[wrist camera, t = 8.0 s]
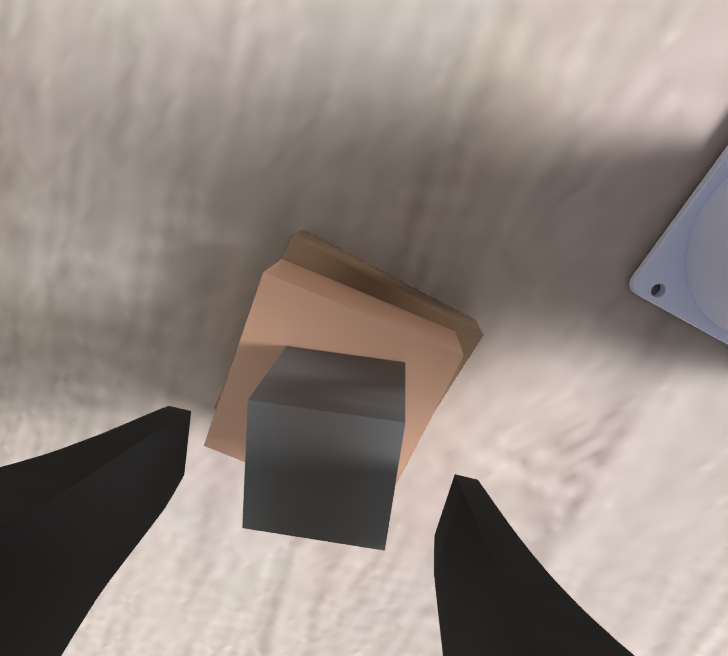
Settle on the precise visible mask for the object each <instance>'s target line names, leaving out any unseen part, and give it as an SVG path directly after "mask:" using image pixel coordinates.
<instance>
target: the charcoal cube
mask: <svg viewBox="0 0 728 656" xmlns="http://www.w3.org/2000/svg"><path fill="white" fill-rule="evenodd" d="M404 429H405V362H399V361H392V360H385V359H378V358H371V357H363V356H356V355H349V354H342V353H335V352H328V351H321V350H313V349H306V348H299V347H292V346H286V347H285V348H284V350H283V351H282V352H281V354H280V355H279V357H278V358H277V360H276V361H275V362H274V364H273V365H272V367H271V368H270V369H269V371H268V372H267V374H266V375H265V376H264V378H263V379H262V381H261V382H260V383H259V385H258V386H257V388H256V389H255V390H254V392H253V393H252V395H251V396H250V397H249V399H248V407H247V431H246V455H245V479H244V503H243V527H242V528H246V529H252V530H258V531H265V532H271V533H277V534H284V535H290V536H296V537H303V538H309V539H315V540H321V541H328V542H334V543H340V544H347V545H353V546H359V547H366V548H372V549H378V550H385V545H386V539H387V533H388V527H389V521H390V514H391V508H392V502H393V496H394V490H395V484H396V478H397V472H398V465H399V459H400V453H401V447H402V441H403V435H404Z"/></svg>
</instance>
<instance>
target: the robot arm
mask: <svg viewBox="0 0 728 656" xmlns="http://www.w3.org/2000/svg"><path fill="white" fill-rule="evenodd" d="M656 284H660V290H659V292H658V293H657V294H654V295H652V294H651V289H652V287H653V286H655V285H656ZM629 287H630V289H631V291H632V292H633V293H634V294H636V295H638V296H640V297H641V298H643V299H645V300H647V301H649V302H651V303H652V304H654V305H656V306H658V307H660V308H661V309H663V310H665V311H667V312H669V313H671V314H672V315H674V316H676V317H678V318H680V319H682V320H683V321H685V322H687V323H689V324H691V325H692V326H694V327H696V328H698V329H700V330H702V331H703V332H705V333H707V334H709V335H711V336H712V337H714V338H716V339H718V340H720V341H722V342H723V343H725V344H727V345H728V146H727V147H726V148H725V150H724V151H723V152H722V154H721V155H720V156H719V158H718V159H717V161H716V162H715V163H714V165H713V166H712V167H711V169H710V170H709V172H708V173H707V174H706V176H705V177H704V178H703V180H702V181H701V182H700V184H699V185H698V187H697V188H696V189H695V191H694V192H693V193H692V195H691V196H690V198H689V199H688V200H687V202H686V203H685V204H684V206H683V207H682V208H681V210H680V211H679V213H678V214H677V215H676V217H675V218H674V219H673V221H672V222H671V224H670V225H669V226H668V228H667V229H666V230H665V232H664V233H663V234H662V236H661V237H660V239H659V240H658V241H657V243H656V244H655V245H654V247H653V248H652V250H651V251H650V252H649V254H648V255H647V256H646V258H645V259H644V261H643V262H642V263H641V265H640V266H639V267H638V269H637V270H636V271H635V273H634V274H633V276H632V277H631V279H630V281H629ZM190 417H191V411H188V410H184V409H180V408H176V407H172V406H167V407H165V408H162V409H159V410H157V411H154V412H152V413H150V414H147V415H145V416H143V417H140V418H138V419H136V420H133V421H131V422H129V423H126V424H124V425H121V426H119V427H117V428H114V429H112V430H109V431H107V432H105V433H102V434H100V435H97V436H95V437H92V438H89V439H86V440H84V441H81V442H78V443H76V444H73V445H70V446H68V447H65V448H62V449H60V450H57V451H54V452H51V453H48V454H44V455H41V456H38V457H35V458H31V459H28V460H24V461H21V462H17V463H14V464H10V465H7V466H3V467H0V656H61V655H62V654H63V652H64V650H65V649H66V647H67V645H68V644H69V642H70V640H71V639H72V637H73V636H74V634H75V632H76V631H77V629H78V628H79V626H80V624H81V623H82V621H83V620H84V618H85V616H86V615H87V613H88V612H89V610H90V609H91V607H92V605H93V604H94V602H95V601H96V599H97V598H98V596H99V595H100V593H101V592H102V590H103V589H104V588H105V586H106V585H107V583H108V582H109V581H110V579H111V578H112V577H113V575H114V574H115V573H116V571H117V570H118V569H119V568H120V566H121V565H122V564H123V562H124V561H125V560H126V559H127V557H128V556H129V555H130V553H131V552H132V551H133V549H134V548H135V547H136V546H137V544H138V543H139V542H140V540H141V539H142V538H143V536H144V535H145V534H146V533H147V531H148V530H149V529H150V527H151V526H152V525H153V523H154V522H155V521H156V519H157V518H158V517H159V515H160V514H161V513H162V511H163V510H164V509H165V507H166V506H167V504H168V502H169V500H170V499H171V497H172V495H173V494H174V492H175V490H176V489H177V487H178V485H179V483H180V481H181V480H182V478H183V476H184V472H185V463H186V454H187V444H188V435H189V426H190ZM434 577H435V587H436V597H437V606H438V615H439V624H440V633H441V642H442V651H443V656H634V655H633V654H632V653H631V652H630V651H628V650H627V649H626V648H625V647H624V646H622V645H621V644H620V643H619V642H618V641H617V640H616V639H614V638H613V637H612V636H611V635H610V634H609V633H608V632H607V631H606V630H605V629H603V628H602V627H601V626H600V625H599V624H598V623H597V622H596V621H595V620H594V619H592V618H591V617H590V616H589V615H588V614H587V613H586V612H585V611H584V610H583V609H582V608H581V607H580V606H579V605H578V604H577V603H576V602H575V601H574V600H573V599H572V598H571V597H570V596H569V595H568V594H567V593H566V592H565V590H564V589H563V588H562V587H561V586H560V585H559V584H558V583H557V582H556V581H555V580H554V579H553V578H552V577H551V575H550V574H549V573H548V572H547V571H546V570H545V569H544V567H543V566H542V565H541V564H540V563H539V561H538V560H537V559H536V558H535V557H534V555H533V554H532V553H531V552H530V551H529V549H528V548H527V547H526V545H525V544H524V543H523V542H522V540H521V539H520V538H519V536H518V535H517V534H516V533H515V531H514V530H513V528H512V527H511V526H510V524H509V523H508V522H507V520H506V519H505V518H504V516H503V515H502V513H501V512H500V511H499V509H498V508H497V506H496V505H495V503H494V502H493V501H492V499H491V498H490V496H489V495H488V493H487V492H486V491H485V489H484V488H483V486H482V485H481V484H480V482H479V481H478V480H477V479H472V478H468V477H464V476H460V475H456V474H455V475H454V478H453V481H452V484H451V487H450V490H449V493H448V496H447V499H446V502H445V505H444V509H443V512H442V515H441V518H440V521H439V524H438V527H437V530H436V533H435V539H434Z"/></svg>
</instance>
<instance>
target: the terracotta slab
mask: <svg viewBox="0 0 728 656" xmlns="http://www.w3.org/2000/svg"><path fill="white" fill-rule="evenodd" d="M286 346H292V347H299V348H306V349H313V350H321V351H328V352H335V353H342V354H349V355H356V356H363V357H371V358H378V359H385V360H392V361H399V362H405V429H404V435H403V441H402V447H401V453H400V459H399V465H398V472H397V478H396V484H397V482H398V480H399V478H400V476H401V474H402V473H403V471H404V469H405V467H406V465H407V463H408V461H409V459H410V457H411V455H412V453H413V452H414V450H415V448H416V446H417V444H418V442H419V440H420V438H421V436H422V434H423V432H424V431H425V429H426V427H427V425H428V423H429V421H430V419H431V417H432V415H433V413H434V411H435V410H436V408H437V406H438V404H439V402H440V400H441V398H442V396H443V394H444V392H445V390H446V389H447V387H448V385H449V383H450V381H451V379H452V377H453V375H454V373H455V371H456V369H457V368H458V366H459V364H460V362H461V360H462V358H463V356H464V355H463V352H462V349H461V346H460V343H459V340H458V337H457V334H456V331H454V330H451V329H449V328H447V327H444V326H442V325H439V324H437V323H435V322H432V321H430V320H428V319H425V318H423V317H420V316H418V315H416V314H413V313H411V312H408V311H406V310H404V309H401V308H399V307H397V306H394V305H392V304H389V303H387V302H385V301H382V300H380V299H377V298H375V297H373V296H370V295H368V294H366V293H363V292H361V291H358V290H356V289H354V288H351V287H349V286H346V285H344V284H342V283H339V282H337V281H334V280H332V279H330V278H327V277H325V276H323V275H320V274H318V273H315V272H313V271H311V270H308V269H306V268H303V267H301V266H299V265H296V264H294V263H292V262H289V261H287V260H284V259H281V260H280V261H278V262H277V263H275V264H274V265H273V266H271V267H270V268H268V269H267V270H265V271H264V272H263V274H262V277H261V280H260V283H259V286H258V289H257V292H256V295H255V298H254V301H253V303H252V306H251V309H250V312H249V315H248V318H247V321H246V324H245V327H244V330H243V333H242V336H241V339H240V342H239V344H238V347H237V350H236V353H235V356H234V359H233V362H232V365H231V368H230V371H229V374H228V377H227V380H226V383H225V386H224V388H223V391H222V394H221V397H220V400H219V403H218V406H217V409H216V412H215V415H214V418H213V421H212V424H211V427H210V429H209V432H208V435H207V438H206V441H205V444H204V446H206V447H208V448H211V449H213V450H216V451H218V452H221V453H224V454H226V455H229V456H231V457H234V458H236V459H239V460H241V461H244V462H245V455H246V431H247V407H248V399H249V397H250V396H251V395H252V393H253V392H254V390H255V389H256V388H257V386H258V385H259V383H260V382H261V381H262V379H263V378H264V376H265V375H266V374H267V372H268V371H269V369H270V368H271V367H272V365H273V364H274V362H275V361H276V360H277V358H278V357H279V355H280V354H281V352H282V351H283V350H284V348H285V347H286ZM396 484H395V486H396Z"/></svg>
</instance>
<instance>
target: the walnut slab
mask: <svg viewBox="0 0 728 656" xmlns="http://www.w3.org/2000/svg"><path fill="white" fill-rule="evenodd" d="M282 259H284V260H287V261H289V262H292V263H294V264H296V265H299V266H301V267H303V268H306V269H308V270H311V271H313V272H315V273H318V274H320V275H323V276H325V277H327V278H330V279H332V280H334V281H337V282H339V283H342V284H344V285H346V286H349V287H351V288H354V289H356V290H358V291H361V292H363V293H366V294H368V295H370V296H373V297H375V298H377V299H380V300H382V301H385V302H387V303H389V304H392V305H394V306H397V307H399V308H401V309H404V310H406V311H408V312H411V313H413V314H416V315H418V316H420V317H423V318H425V319H428V320H430V321H432V322H435V323H437V324H439V325H442V326H444V327H447V328H449V329H451V330H454V331H456V334H457V337H458V340H459V343H460V346H461V349H462V352H463V355H464V356H463V358H462V360H461V362H460V364H459V366H458V368H457V369H456V371H455V373H454V375H453V377H452V379H451V381H450V383H449V385H448V387H447V389H446V390H445V392H444V394H443V396H442V398H441V400H440V402H441V401H442V399H443V397H444V396H445V394H446V393H447V391H448V390H449V388H450V386H451V385H452V383H453V382H454V380H455V379H456V377H457V376H458V374H459V372H460V371H461V369H462V368H463V366H464V365H465V363H466V361H467V360H468V358H469V357H470V355H471V354H472V352H473V350H474V349H475V347H476V346H477V344H478V343H479V341H480V340H481V338H482V336H483V334H482V332H481V330H480V328H479V326H478V324H477V322H476V320H474V319H472V318H470V317H468V316H466V315H464V314H462V313H461V312H459V311H457V310H455V309H453V308H451V307H449V306H447V305H445V304H443V303H441V302H439V301H438V300H436V299H434V298H432V297H430V296H428V295H426V294H424V293H422V292H420V291H418V290H417V289H415V288H413V287H411V286H409V285H407V284H405V283H403V282H401V281H399V280H397V279H396V278H394V277H392V276H390V275H388V274H386V273H384V272H382V271H380V270H378V269H376V268H375V267H373V266H371V265H369V264H367V263H365V262H363V261H361V260H359V259H357V258H355V257H353V256H352V255H350V254H348V253H346V252H344V251H342V250H340V249H338V248H336V247H334V246H332V245H331V244H329V243H327V242H325V241H323V240H321V239H319V238H317V237H315V236H313V235H311V234H310V233H308V232H306V231H304V230H302V231H300V232H298V233H296V234H294V235H292V236H291V239H290V241H289V243H288V245H287V247H286V250H285V252H284V254H283V256H282ZM224 386H225V385H224ZM223 388H224V387H223ZM222 391H223V390H222ZM221 394H222V392H221ZM221 394H220V396H219V399H218V401H217V403H216V405H215V407H214V408H216V409H217V406H218V403H219V400H220V397H221ZM440 402H439V404H440ZM439 404H438V405H439ZM437 407H438V406H437Z"/></svg>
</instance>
